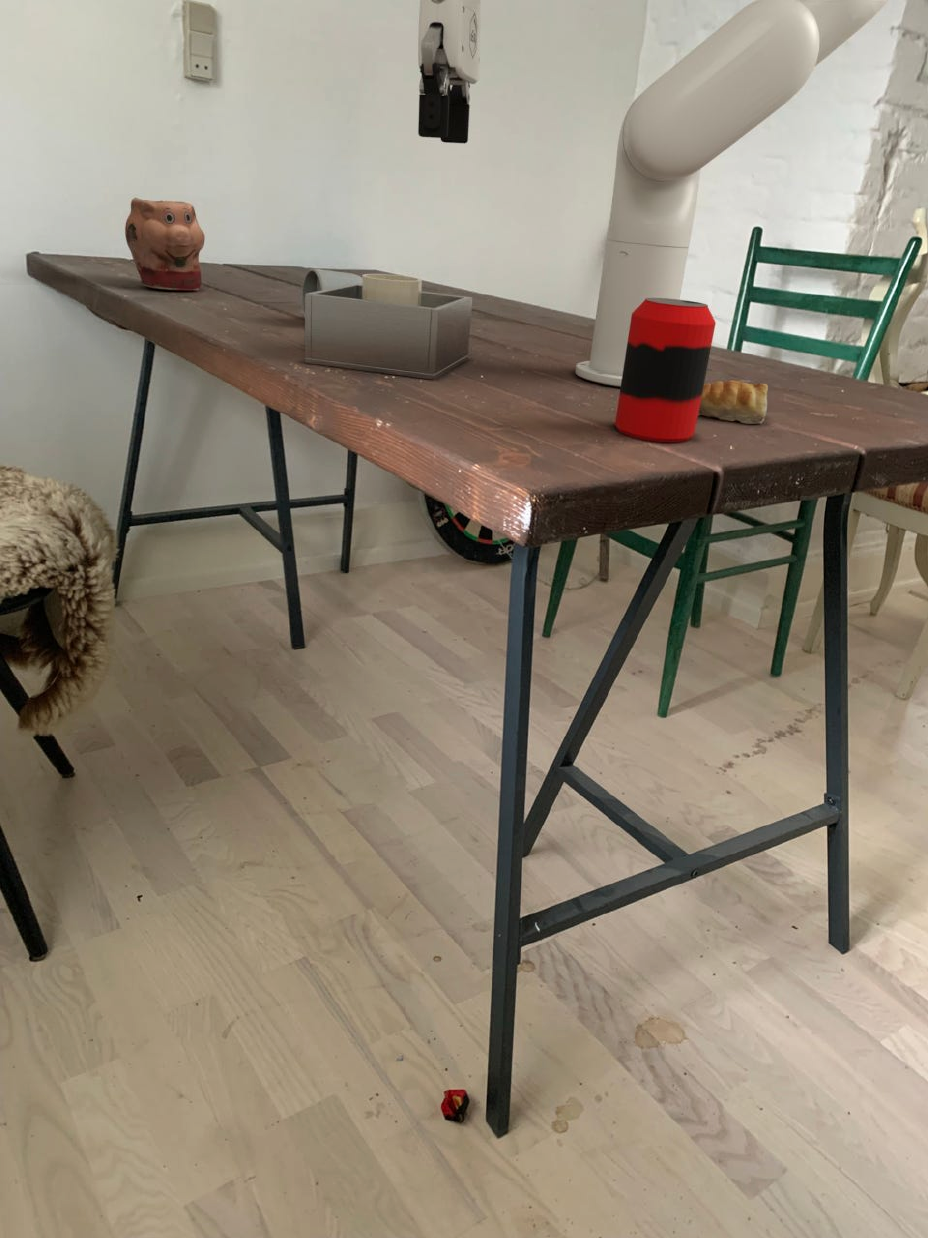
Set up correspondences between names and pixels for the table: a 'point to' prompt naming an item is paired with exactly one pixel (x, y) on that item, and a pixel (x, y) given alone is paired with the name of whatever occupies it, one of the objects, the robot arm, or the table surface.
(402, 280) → the cup
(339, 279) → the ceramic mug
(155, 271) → the decorative planter
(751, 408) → the pastry
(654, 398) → the soda can
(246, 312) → the table surface
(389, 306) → the grey open box
